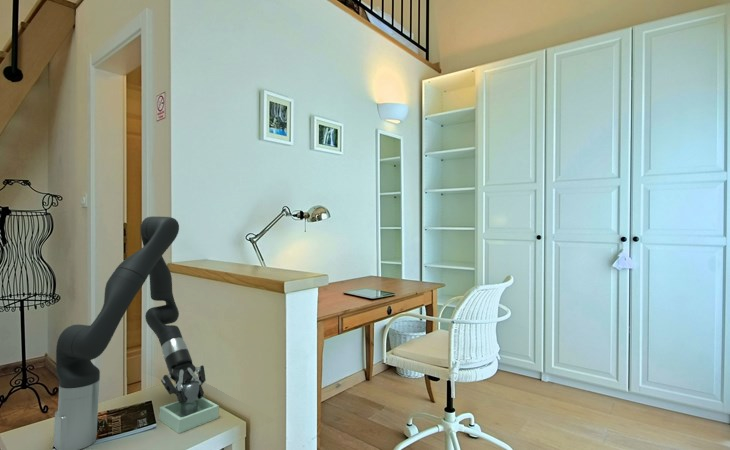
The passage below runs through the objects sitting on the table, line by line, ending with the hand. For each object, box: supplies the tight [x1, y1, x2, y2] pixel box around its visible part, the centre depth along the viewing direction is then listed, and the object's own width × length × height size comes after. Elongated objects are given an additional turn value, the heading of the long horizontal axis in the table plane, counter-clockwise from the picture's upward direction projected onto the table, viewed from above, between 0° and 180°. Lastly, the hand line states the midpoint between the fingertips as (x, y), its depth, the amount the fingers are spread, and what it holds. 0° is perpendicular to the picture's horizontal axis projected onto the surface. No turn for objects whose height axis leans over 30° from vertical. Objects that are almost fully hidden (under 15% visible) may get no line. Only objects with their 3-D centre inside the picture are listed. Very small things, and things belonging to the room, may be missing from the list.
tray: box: [158, 396, 220, 434], centre depth 123 cm, size 13×13×4 cm
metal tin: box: [180, 380, 199, 415], centre depth 123 cm, size 5×5×9 cm
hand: (192, 399), depth 122 cm, fingers closed on metal tin, 5 cm apart
